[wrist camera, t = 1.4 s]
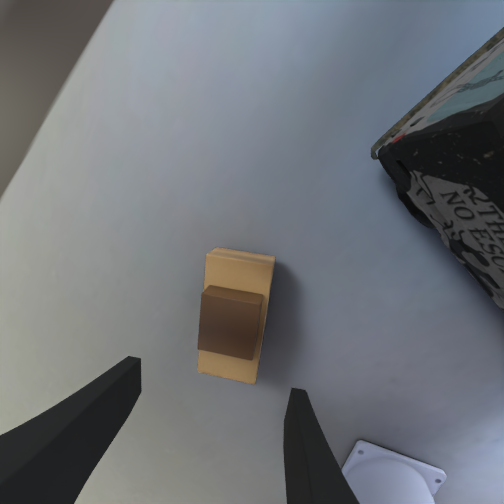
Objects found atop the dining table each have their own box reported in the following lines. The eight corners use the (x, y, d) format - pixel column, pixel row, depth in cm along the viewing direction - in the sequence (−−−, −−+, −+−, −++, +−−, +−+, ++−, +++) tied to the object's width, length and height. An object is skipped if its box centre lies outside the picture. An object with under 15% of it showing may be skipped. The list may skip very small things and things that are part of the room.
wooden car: (218, 244, 20) (197, 260, 16) (276, 253, 20) (271, 273, 15) (209, 349, 23) (188, 389, 18) (259, 360, 22) (251, 404, 18)
